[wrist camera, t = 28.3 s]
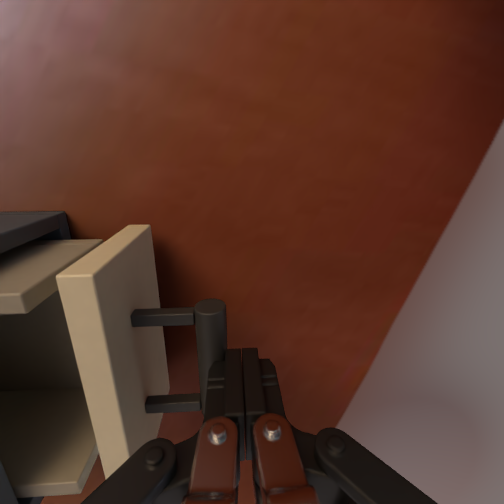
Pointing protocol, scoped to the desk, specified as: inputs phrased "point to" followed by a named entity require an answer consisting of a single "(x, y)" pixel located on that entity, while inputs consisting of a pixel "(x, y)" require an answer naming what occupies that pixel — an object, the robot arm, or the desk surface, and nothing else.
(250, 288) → the desk surface
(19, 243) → the cabinet
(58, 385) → the drawer
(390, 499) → the robot arm
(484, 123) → the desk surface
